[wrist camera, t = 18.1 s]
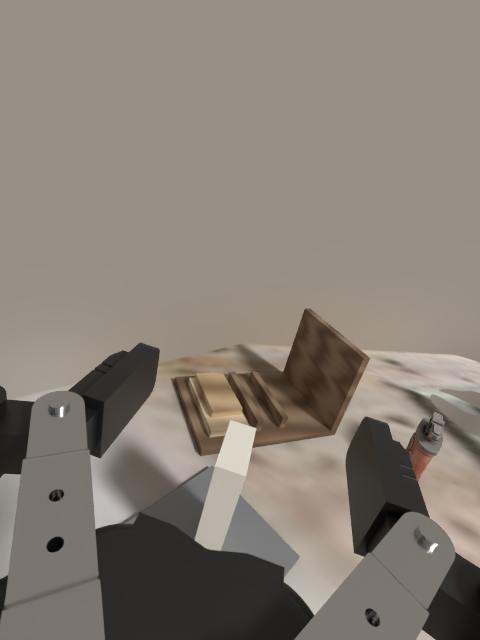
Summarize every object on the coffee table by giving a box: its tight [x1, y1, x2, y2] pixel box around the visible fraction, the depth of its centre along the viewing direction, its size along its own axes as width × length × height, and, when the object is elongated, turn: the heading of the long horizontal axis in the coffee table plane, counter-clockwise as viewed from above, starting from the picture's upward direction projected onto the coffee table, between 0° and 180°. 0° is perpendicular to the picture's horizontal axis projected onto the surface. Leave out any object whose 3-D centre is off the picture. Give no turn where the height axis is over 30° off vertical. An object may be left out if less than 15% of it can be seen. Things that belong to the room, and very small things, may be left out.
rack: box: [175, 309, 370, 456], centre depth 53 cm, size 16×23×15 cm
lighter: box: [405, 412, 445, 482], centre depth 49 cm, size 8×3×10 cm, turn 147°
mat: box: [124, 466, 299, 577], centre depth 34 cm, size 14×14×1 cm
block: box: [195, 420, 256, 551], centre depth 31 cm, size 6×2×14 cm, turn 169°
